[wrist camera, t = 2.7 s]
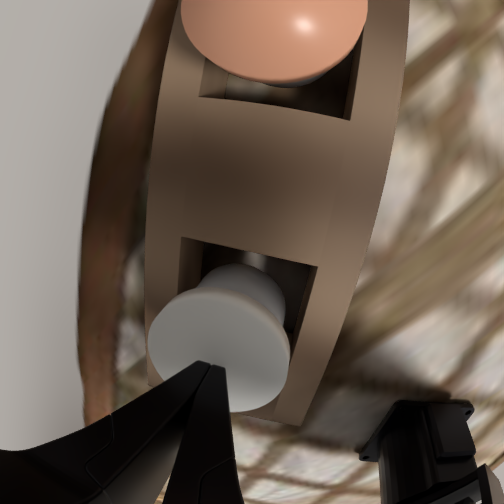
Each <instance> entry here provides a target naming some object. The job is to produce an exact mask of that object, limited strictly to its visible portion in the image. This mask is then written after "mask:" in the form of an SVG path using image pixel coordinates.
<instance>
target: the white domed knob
mask: <svg viewBox="0 0 504 504" xmlns="http://www.w3.org/2000/svg"><path fill="white" fill-rule="evenodd" d="M285 313H286V304H285V299H284V295H283V293H282V291H281V289H280V288H279V286H278V285H277V283H276V282H275V281H274V280H273V279H272V278H271V277H270V276H269V275H267V274H266V273H265V272H263V271H261V270H259V269H257V268H255V267H252V266H249V265H244V264H227V265H223V266H220V267H217V268H215V269H213V270H212V271H210V272H209V273H208V274H207V275H206V276H205V277H204V278H203V279H202V281H201V282H200V283H199V285H198V286H197V287H196V288H195V289H191V290H188V291H185V292H183V293H181V294H179V295H177V296H176V297H174V298H173V299H172V300H171V301H170V302H169V303H168V304H167V305H166V306H165V307H164V308H163V310H162V311H161V312H160V313H159V314H158V315H157V317H156V318H155V319H154V321H153V322H152V324H151V327H150V329H149V333H148V351H149V355H150V358H151V361H152V363H153V365H154V367H155V369H156V371H157V372H158V373H159V375H160V376H161V378H162V379H163V380H164V381H165V380H167V379H169V378H170V377H172V376H173V375H175V374H176V373H178V372H180V371H181V370H183V369H184V368H186V367H187V366H189V365H190V364H192V363H194V362H195V361H197V360H201V361H204V362H208V363H210V364H211V365H213V364H215V365H218V366H222V367H225V369H226V377H227V387H228V397H229V407H230V412H242V411H249V410H253V409H256V408H259V407H262V406H264V405H266V404H267V403H269V402H270V401H272V400H273V399H274V398H275V397H276V396H277V395H278V394H279V393H280V392H281V390H282V389H283V387H284V385H285V382H286V379H287V374H288V367H289V360H290V346H289V341H288V338H287V335H286V333H285V331H284V328H283V324H284V318H285Z"/></svg>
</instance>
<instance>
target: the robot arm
mask: <svg viewBox="0 0 504 504" xmlns="http://www.w3.org/2000/svg"><path fill="white" fill-rule="evenodd" d="M474 410H475V409H474V407H473V405H472V404H463V403H437V402H421V401H408V400H400V401H398V402H396V403H395V404H394V405H393V406H392V408H391V409H390V411H389V412H388V414H387V415H386V417H385V418H384V420H383V421H382V423H381V424H380V426H379V427H378V429H377V430H376V431H375V433H374V434H373V436H372V437H371V438H370V440H369V441H368V442H367V444H366V445H365V446H364V448H363V449H362V450H361V452H360V453H359V460H361V461H370V462H378V464H379V478H380V494H381V504H476V502H478V501H480V500H482V503H481V504H504V494H503V490H502V487H501V484H500V482H499V479H498V478H497V477H496V476H495V474H494V473H493V472H492V471H491V470H490V468H489V467H488V466H487V465H486V464H483V465H481V466H480V467H478V468H477V465H476V462H475V458H474V455H475V453H476V448H475V445H474V442H473V439H472V436H471V433H470V431H469V428H468V425H467V422H466V421H467V420H468V419H469V418H470V416H471V415H472V414H473V412H474ZM170 473H171V476H170V479H169V483H168V486H167V489H166V493H165V496H164V499H163V503H162V504H244V501H243V497H242V493H241V490H240V485H239V480H238V474H237V467H236V460H235V452H234V443H233V434H232V426H231V416H230V407H229V397H228V387H227V377H226V369H225V367H222V366H218V365H215V364H213V365H211V364H210V363H208V362H204V361H201V360H197V361H195V362H194V363H192V364H190V365H189V366H187V367H186V368H184V369H183V370H181V371H180V372H178V373H176V374H175V375H173V376H172V377H170V378H169V379H167V380H165V381H164V382H162V383H161V384H159V385H157V386H156V387H154V388H153V389H151V390H149V391H148V392H146V393H144V394H143V395H141V396H139V397H138V398H136V399H134V400H133V401H131V402H129V403H128V404H126V405H124V406H123V407H121V408H119V409H118V410H116V411H114V412H113V413H111V415H107V416H105V417H104V418H102V419H100V420H98V421H96V422H95V423H93V424H91V425H89V426H87V427H85V428H83V429H81V430H78V431H76V432H74V433H71V434H69V435H66V436H64V437H61V438H59V439H56V440H53V441H51V442H48V443H45V444H43V445H40V446H37V447H34V448H30V449H26V450H19V451H8V450H1V449H0V504H154V503H155V501H156V499H157V497H158V495H159V494H160V492H161V490H162V488H163V486H164V484H165V483H166V481H167V479H168V477H169V475H170Z"/></svg>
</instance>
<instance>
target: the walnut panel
mask: <svg viewBox="0 0 504 504" xmlns="http://www.w3.org/2000/svg"><path fill="white" fill-rule="evenodd" d="M181 2H182V0H179V2H178V6H177V10H176V14H175V18H174V22H173V26H172V31H171V35H170V40H169V44H168V49H167V54H166V59H165V64H164V70H163V75H162V81H161V87H160V93H159V99H158V106H157V112H156V119H155V127H154V135H153V143H152V152H151V162H150V172H149V183H148V196H147V212H146V231H145V263H144V309H145V341H146V360H147V374H148V385H149V386H152V387H156V386H157V385H159V384H161V383H162V382H164V380H163V379H162V378H161V376H160V375H159V373H158V372H157V371H156V369H155V367H154V365H153V363H152V361H151V358H150V355H149V351H148V333H149V329H150V327H151V324H152V322H153V321H154V319H155V318H156V317H157V315H158V314H159V313H160V312H161V311H162V310H163V308H164V307H165V306H166V305H167V304H168V303H169V302H170V301H171V300H172V299H173V298H174V297H176V296H177V295H179V294H181V293H183V292H185V291H188V290H191V289H195V288H196V287H197V286H198V285H199V283H200V278H201V268H202V258H203V249H204V242H209V243H213V244H218V245H222V246H227V247H232V248H236V249H241V250H245V251H250V252H254V253H259V254H263V255H268V256H272V257H277V258H281V259H286V260H290V261H295V262H300V263H304V264H309V265H311V269H310V273H309V276H308V280H307V284H306V288H305V292H304V296H303V299H302V303H301V307H300V310H299V314H298V317H297V321H296V325H295V328H294V332H293V334H292V333H288V332H285V333H286V335H287V338H288V341H289V346H290V360H289V367H288V374H287V379H286V382H285V385H284V387H283V389H282V390H281V392H280V393H279V394H278V395H277V396H276V397H275V398H274V399H273V400H272V401H270V402H269V403H267V404H266V405H264V406H262V407H259V408H256V409H253V410H249V411H242V412H235V413H239V414H243V415H248V416H252V417H256V418H260V419H265V420H270V421H274V422H279V423H284V424H290V425H295V426H301V424H302V422H303V420H304V417H305V415H306V413H307V411H308V409H309V407H310V404H311V402H312V400H313V398H314V395H315V393H316V391H317V388H318V386H319V384H320V381H321V379H322V376H323V374H324V372H325V369H326V367H327V364H328V362H329V359H330V357H331V354H332V352H333V349H334V346H335V344H336V341H337V339H338V336H339V333H340V331H341V328H342V325H343V322H344V320H345V317H346V314H347V311H348V308H349V305H350V302H351V299H352V296H353V293H354V290H355V287H356V284H357V281H358V278H359V275H360V272H361V268H362V265H363V262H364V259H365V255H366V252H367V248H368V245H369V241H370V238H371V234H372V231H373V227H374V223H375V220H376V216H377V212H378V208H379V204H380V200H381V196H382V192H383V187H384V183H385V179H386V174H387V170H388V165H389V160H390V155H391V150H392V145H393V140H394V135H395V129H396V124H397V118H398V112H399V105H400V99H401V92H402V84H403V77H404V68H405V59H406V49H407V38H408V24H409V4H410V0H368V11H367V17H366V21H365V24H364V26H363V29H362V31H361V34H360V36H359V38H358V41H357V42H356V44H355V46H354V51H353V58H352V65H351V72H350V79H349V85H348V91H347V97H346V103H345V109H344V115H343V119H340V118H336V117H331V116H327V115H322V114H317V113H312V112H307V111H302V110H296V109H291V108H285V107H279V106H273V105H266V104H259V103H252V102H244V101H235V100H226V99H224V97H225V91H226V85H227V79H228V74H229V72H227V71H225V70H223V69H222V68H220V67H219V66H217V65H216V64H215V63H213V62H212V61H211V60H209V59H208V58H207V57H205V56H204V55H203V54H202V53H201V52H200V51H199V50H198V49H197V48H196V47H195V46H194V45H193V43H192V42H191V41H190V39H189V37H188V35H187V34H186V32H185V29H184V26H183V23H182V17H181Z"/></svg>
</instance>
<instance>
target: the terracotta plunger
mask: <svg viewBox="0 0 504 504" xmlns="http://www.w3.org/2000/svg"><path fill="white" fill-rule="evenodd" d="M367 11H368V0H182V2H181V17H182V23H183V26H184V29H185V32H186V34H187V35H188V37H189V39H190V41H191V42H192V43H193V45H194V46H195V47H196V48H197V49H198V50H199V51H200V52H201V53H202V54H203V55H204V56H205V57H207V58H208V59H209V60H211V61H212V62H213V63H215V64H216V65H217V66H219V67H220V68H222V69H223V70H225V71H227V72H229V73H230V74H233V75H235V76H237V77H240V78H243V79H246V80H250V81H255V82H260V83H263V84H266V85H269V86H274V87H280V88H293V87H300V86H304V85H307V84H309V83H312V82H314V81H316V80H318V79H319V78H321V77H322V76H323V75H324V74H326V73H327V72H328V71H329V70H330V69H331V68H333V67H334V66H336V65H337V64H339V63H340V62H341V61H342V60H343V59H344V58H345V57H346V56H347V55H348V54H349V53H350V51H351V50H352V49H353V47H354V46H355V44H356V42H357V41H358V38H359V36H360V34H361V31H362V29H363V26H364V24H365V21H366V17H367Z"/></svg>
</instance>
